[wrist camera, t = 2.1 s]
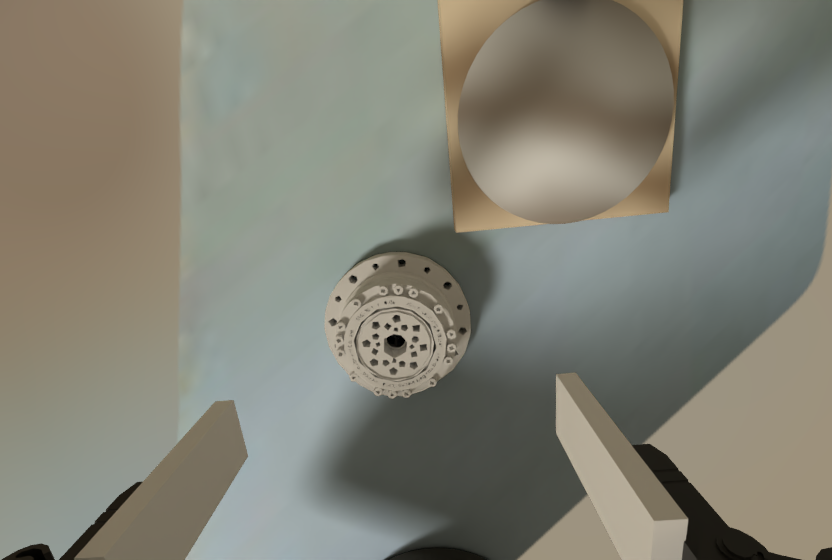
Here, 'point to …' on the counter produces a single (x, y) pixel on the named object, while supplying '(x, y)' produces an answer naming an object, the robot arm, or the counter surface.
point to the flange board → (559, 108)
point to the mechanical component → (397, 323)
